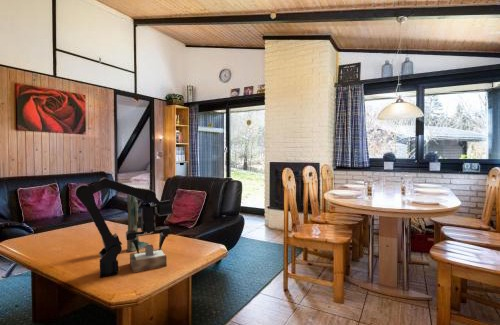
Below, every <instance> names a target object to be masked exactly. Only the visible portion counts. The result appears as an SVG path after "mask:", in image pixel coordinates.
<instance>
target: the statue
mask: <svg viewBox="0 0 500 325" xmlns="http://www.w3.org/2000/svg"><path fill="white" fill-rule="evenodd" d="M137 199H138V198H136V197H134V196H132V195H129V194H127V231H132V230H135V231H136V232H139V229H137V221H139V212H138V211H139V209H138V208H137V206H138V205H139V203H138V202H139V201H138V200H137ZM136 238H137V241H138V248H139V250H143V249H145V245H149V242H147V241H146V242H145V241H141V240H140V239H139V236H137V237H136ZM126 242H127V243H126V249H125V250H126V252H130V253H134V252H137V250H136V247H135V245H134V243H133V242H130V240H127V239H126Z"/></svg>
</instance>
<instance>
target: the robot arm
mask: <svg viewBox="0 0 500 325" xmlns="http://www.w3.org/2000/svg"><path fill="white" fill-rule="evenodd" d="M104 189H109V190H113V191H116V192H120V193H123V194H127V195H132V196H134V197H136V199H139V200H140V201H142V202H144V203H142V202H139V203H138V206H137V208H138V210H140V209H141V220H138V221H137V229H138V230H139V229H140V231H138V232H136V231H135V230H132V231H128V230H127V231H126V232H125V239H126V241H127V240H130V242H133V243H134V245H135V247H136V253H138V254H139V252H140V249H139V248H138V241H137V238H136V237H137V236H138V237H144V236H151V235H158V234H159V240H158V241H159V243H158V249H159V250H161V249H162V246H163V244H164V241H165V239H166V238H167V237H169V235H172V229H171V228H170V227H169V225H168V226H167V225H166V226H160V227H159V228H158V229H156V215H157V216H158V217H161V216H171V215H172V214H173V206H172V203H171V200H170V199H167V200H166V199H165V200H159V198H158V197H157V195H156V192H155V191H154V190H152V189H148V188H142V187H134V186H131V185H128V184H124V183H123V182H119V181H116V180H113V179H110V178H107V177H102V178H100V179H98V180H95V181H93V182H90V183H87V184H84V183H83V184H80V185H77V186H76V187H75V189H74V194H75V196H76V198H77V199H78V200H79V202H80V203H81V204H82V205H83V206H84V207H85V209H86V210H87V212H88V215H89V216H90V217H91V219H92V221H93V223H94V225H95V227H96V229H97V231H98V233H99V234H100V236H101V241H102V244H103V248H102V249H101V250H100V251H99V252H98V254H99V257H100V259H99V278H104V277H110V276H116V275H118V272H119V260H118V259H117V258H118V256H119V255H120V254H121V252H122V249H123V248H122V245H123V243H122V242H121V240H120V237H119V235H118V234H117V233H114V234H113V233H112V232H111V230H110V229H109V227H108V224H107V223H106V221H105V219H104V217H103V216H102V213H101V212H100V209H99V207H98V206H97V205H98V204H96V198H95V194H96V193H99V192H100V191H102V190H104Z"/></svg>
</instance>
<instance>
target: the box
mask: <svg viewBox="0 0 500 325" xmlns="http://www.w3.org/2000/svg"><path fill="white" fill-rule="evenodd" d="M157 250H159V248H158V249H157V248H156V249H153V251H157ZM161 250H162V248H161ZM162 251H163V250H162ZM144 252H145V250H144V251H139V253H144ZM134 254H138V253H137V252H130V253H129V264H130V268H132V269H131V272H132V273H133V272H134V273H138V272H143V271H144V272H145V271H149V269H150V270H154V269H159V268H164V267H167V255H166V254H165V255H164V256H158V257H153V258H147V259H141V260H135V257H134Z"/></svg>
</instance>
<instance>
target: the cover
mask: <svg viewBox="0 0 500 325" xmlns="http://www.w3.org/2000/svg"><path fill="white" fill-rule="evenodd" d="M144 249H145V250H144V251H145V252H144V251H143V252H144V253H139V254H134V257H135V260H141V259H147V258H153V257H158V256H164V255H166V254H165V253H164V252H163V250H157V251H153V250H154V245H153V244H148V245H145V248H144Z"/></svg>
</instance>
